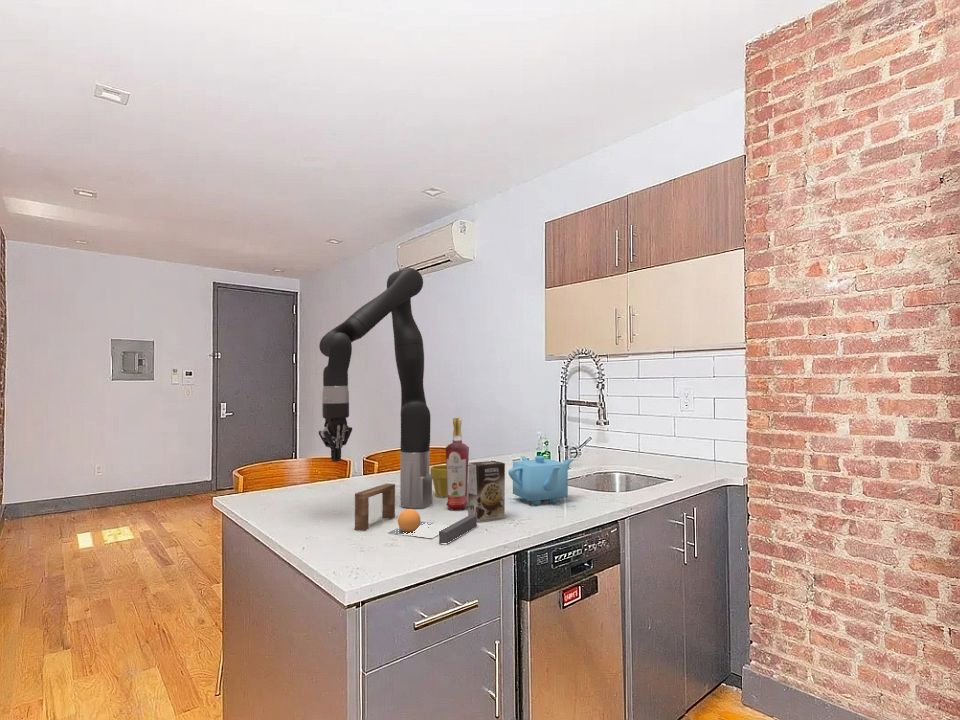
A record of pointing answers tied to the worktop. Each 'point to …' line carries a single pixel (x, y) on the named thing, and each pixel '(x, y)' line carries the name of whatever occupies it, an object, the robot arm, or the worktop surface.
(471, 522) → the wall
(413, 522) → the ball
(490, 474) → the coffee box
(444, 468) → the plant pot
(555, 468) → the teakettle
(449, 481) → the liquor
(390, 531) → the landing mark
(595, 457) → the worktop surface
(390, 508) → the bridge
